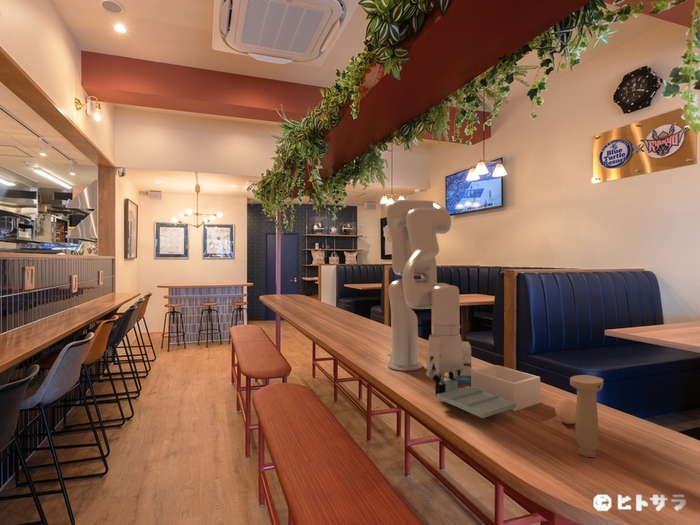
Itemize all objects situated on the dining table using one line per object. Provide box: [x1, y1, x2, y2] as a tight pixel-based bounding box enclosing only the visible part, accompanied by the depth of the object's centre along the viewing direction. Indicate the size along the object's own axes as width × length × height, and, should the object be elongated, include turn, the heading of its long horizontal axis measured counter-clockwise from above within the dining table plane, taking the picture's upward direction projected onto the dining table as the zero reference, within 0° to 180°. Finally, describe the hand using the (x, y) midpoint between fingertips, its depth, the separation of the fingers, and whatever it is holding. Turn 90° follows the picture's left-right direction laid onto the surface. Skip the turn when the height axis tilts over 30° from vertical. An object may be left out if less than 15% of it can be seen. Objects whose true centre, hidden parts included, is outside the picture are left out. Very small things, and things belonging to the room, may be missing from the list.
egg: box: [555, 397, 577, 425], centre depth 90 cm, size 5×5×6 cm
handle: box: [569, 374, 604, 458], centre depth 76 cm, size 5×6×15 cm
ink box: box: [457, 341, 473, 385], centre depth 123 cm, size 9×5×12 cm, turn 168°
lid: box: [436, 376, 516, 419], centre depth 99 cm, size 20×12×3 cm, turn 31°
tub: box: [470, 364, 541, 412], centre depth 106 cm, size 14×11×7 cm
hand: (446, 395), depth 106 cm, fingers closed on lid, 3 cm apart
